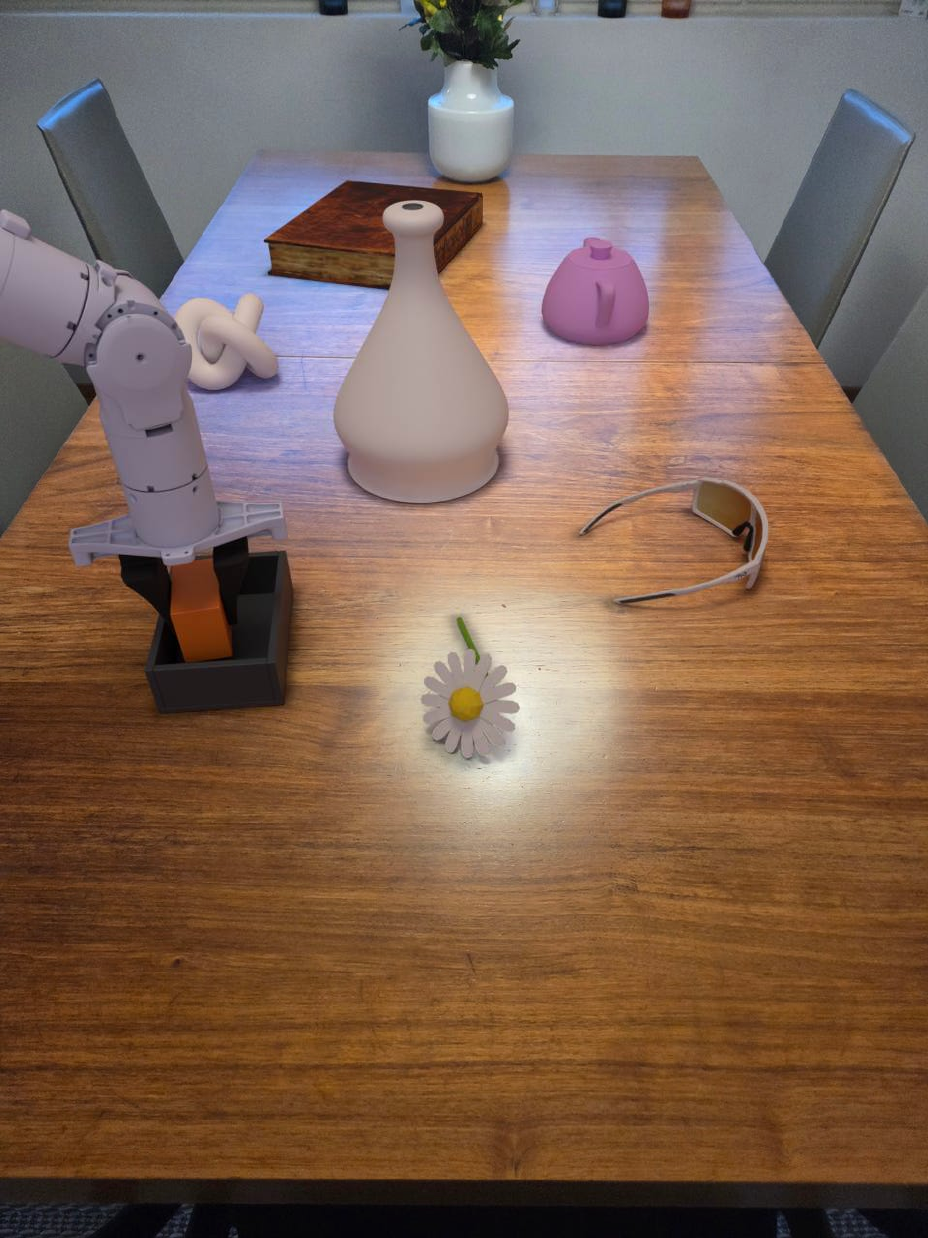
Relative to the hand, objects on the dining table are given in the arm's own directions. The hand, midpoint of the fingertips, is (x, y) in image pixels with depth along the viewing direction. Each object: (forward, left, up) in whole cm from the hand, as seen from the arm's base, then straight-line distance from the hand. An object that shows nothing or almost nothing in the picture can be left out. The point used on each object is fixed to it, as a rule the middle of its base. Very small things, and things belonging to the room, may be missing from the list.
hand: (205, 620), depth 67 cm
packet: (0, 0, -1) cm, 1 cm away
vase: (+22, +25, -4) cm, 33 cm away
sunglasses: (+41, +4, -4) cm, 41 cm away
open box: (+1, +1, -4) cm, 4 cm away
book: (+27, +87, -4) cm, 91 cm away
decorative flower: (+18, -8, -4) cm, 20 cm away
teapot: (+50, +53, -4) cm, 72 cm away
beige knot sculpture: (+4, +48, -4) cm, 48 cm away
